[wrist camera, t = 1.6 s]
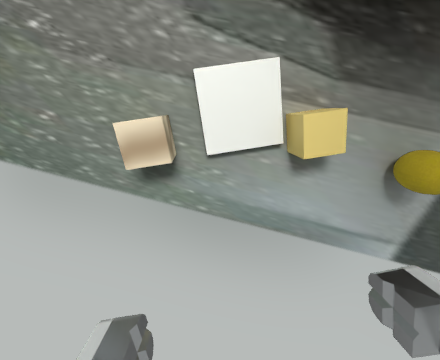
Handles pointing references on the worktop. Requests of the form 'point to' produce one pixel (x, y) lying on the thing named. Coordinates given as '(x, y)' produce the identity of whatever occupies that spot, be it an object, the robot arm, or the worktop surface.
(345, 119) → the mustard brick
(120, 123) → the beech brick
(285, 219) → the worktop surface
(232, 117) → the plate
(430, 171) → the lemon
